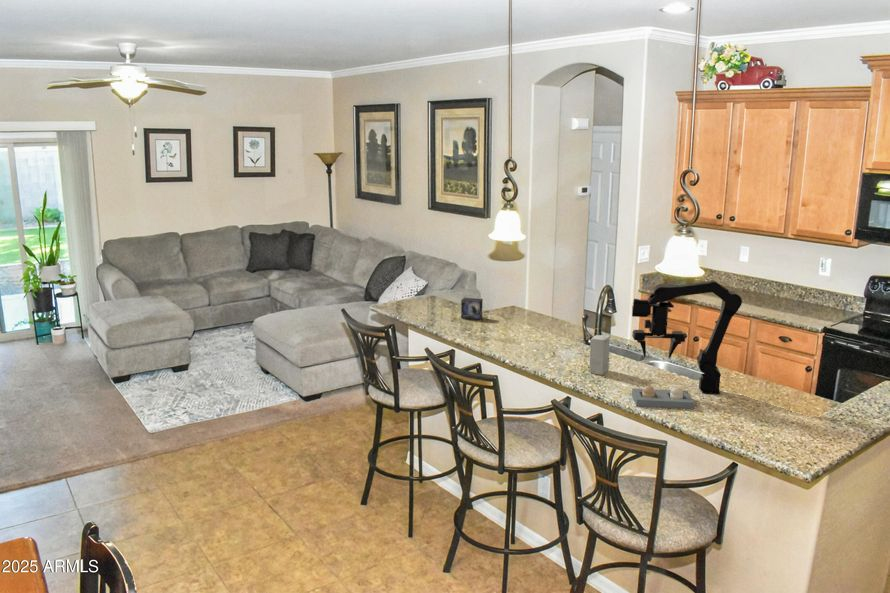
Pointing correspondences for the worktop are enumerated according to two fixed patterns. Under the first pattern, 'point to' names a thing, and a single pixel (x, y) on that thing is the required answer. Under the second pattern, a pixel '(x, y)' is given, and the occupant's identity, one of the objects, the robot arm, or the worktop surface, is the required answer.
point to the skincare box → (599, 354)
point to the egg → (676, 393)
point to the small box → (471, 308)
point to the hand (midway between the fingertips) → (656, 357)
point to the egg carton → (660, 398)
